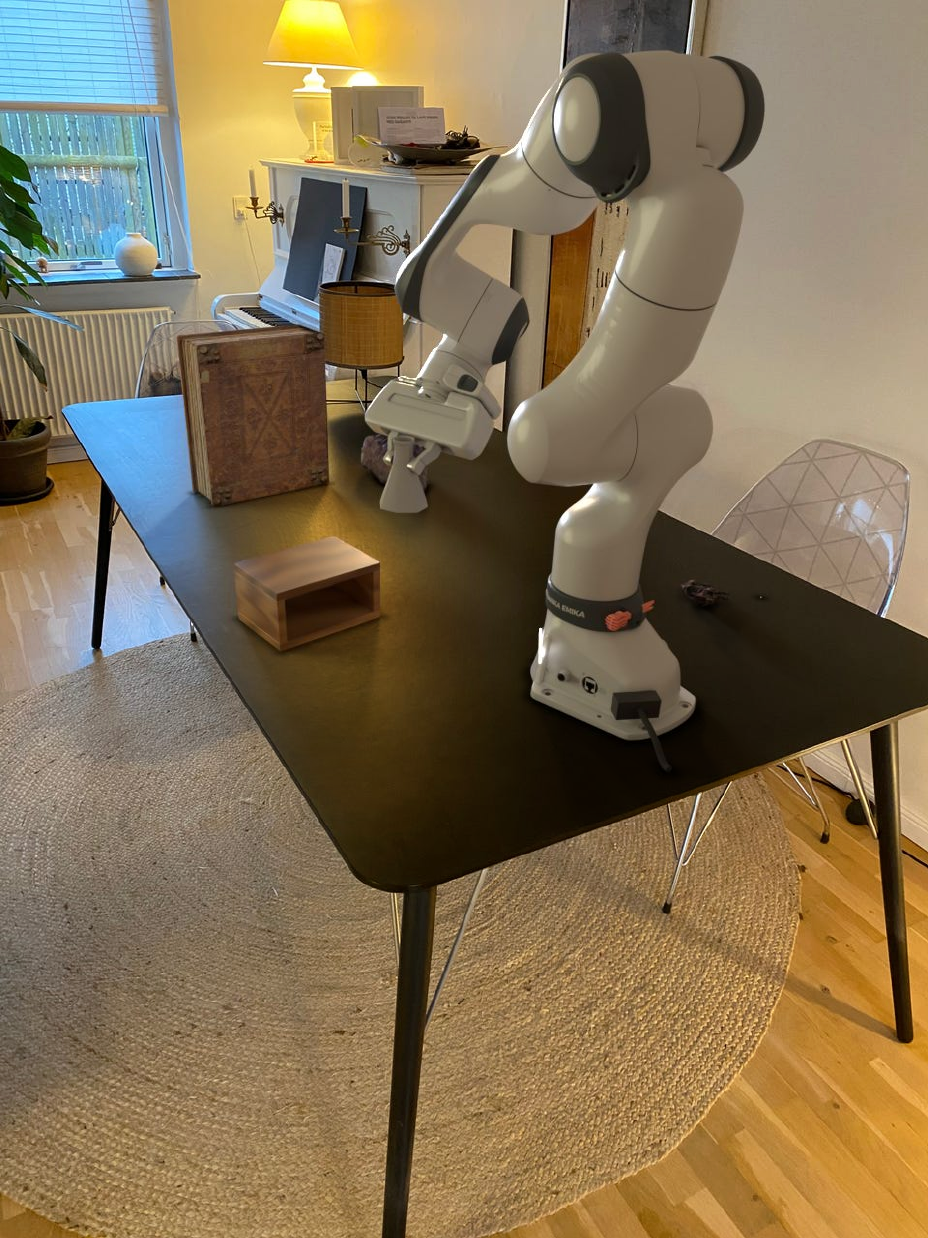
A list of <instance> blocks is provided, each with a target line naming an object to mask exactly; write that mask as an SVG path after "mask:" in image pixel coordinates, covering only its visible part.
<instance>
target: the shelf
mask: <svg viewBox="0 0 928 1238" xmlns="http://www.w3.org/2000/svg"><path fill="white" fill-rule="evenodd" d="M233 572H234V581H235V582H234V583H235V593H236V594H235V595H236V604H237V616H238V619H239V620H240V621H241V622H242V623H244V624H245V625H246V626H247V627H249V628H250V629H251V630H252V631H254V632H255V633H256V634H257V635H259V636H260V637H261V638H262V639H264V640H265V641H267V642H268V643H269V644H270V645H271V646H273V647H274V648H276V649H277V651H279V652H284V651H287V650H289V649H290V650H291V649H293V648H295V647H298V646H301V645H304V644H307V643H310V642H312V641H315V640H319V639H321V638H324V637H326V636H329V635H332V634H335V633H338V632H342V631H344V630H347V629H349V628H353V627H355V626H358V625H361V624H365V623H367V622H370V621H373V620H376V619H379V618H380V617H381V562H380V561H379V560H377V559H375V558H373V557H371V556H370V555H368V554H366V553H365V552H363V551H362V550H359V548H356V547H354V546H353V545H351V544H349V543H347V542H346V541H344V540H343V539H340V538H339V537H338V536H335V535H332V536H328V537H324V538H321V539H316V540H313V541H310V542H309V541H308V542H305V543H302V544H298V545H295V546H292V547H288V548H284V549H280V550H277V551H276V550H275V551H273V552H269V553H266V554H262V555H259V556H255V557H252V558H247V559H244V560H241V561H237V562H233Z"/></svg>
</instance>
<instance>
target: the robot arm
mask: <svg viewBox="0 0 928 1238" xmlns="http://www.w3.org/2000/svg"><path fill="white" fill-rule="evenodd" d="M765 103H766V102H765V95H764V91H763V88H762V84H761V82H760V80H759V77H758V76H757V75H756V73H755V72H754V71H753V70H752V69H751V68H749V67H748V66H747V65H745V64H743V63H742V62H739V61H738V60H735V59H732V58H729V57H725V56H721V55H711V56H702V55H698V54H689V53H681V52H680V53H677V52H675V51H673V50H668V49H667V50H666V49H665V50H661V49H660V50H645V51H643V50H642V51H636V52H627V53H619V52H615V51H614V52H613V51H610V52H605V53H604V52H603V53H599V52H589V53H584V54H580V55H579V56H577V57H575V58H573V59H572V60H571V61H570V62H568V63H567V65H565V66H564V67H563V70H562V71H561V72H560V73H559V75H558V76H557V77H556V79H555V80H554V82H553V83H552V84H551V86H550V87H549V89H548V91H547V92H546V93H545V95H544V97H543V98H542V99H541V101H540V103H539V104H538V106H537V108H536V110H535V111H534V114H533V115H532V117H531V118H530V121H529V123H528V125H527V127H526V129H525V130H524V133H523V135H522V138H521V139H520V141H519V142H518V144H516V146H515V147H514V148H512V149H511V150H509V151H507V152H506V153H503V154H488V155H486V156H485V157H484V158H482V160H480V161H479V163H478V164H477V165H476V166H475V167H473V170H472V171H471V172H470V174H469V175H468V177H467V178H466V180H464V182H463V183H462V184H461V185H460V186H459V188H458V189H457V191H456V192H455V193H454V195H453V196H452V198H451V200H450V201H448V204H447V206H445V209H443V211H442V213H441V214H440V215H439V217H438V218H437V219H436V222H435V223H434V224H433V226H432V227H431V228H430V230H429V233H428V234H427V235H426V237H425V238H424V240H423V241H422V242H421V243H420V244H419V245H418V246H417V247H415V248H414V250H412V251H411V252H410V254H409V255H408V256H407V257H406V259H405V260H404V261H403V263H402V264H401V266H400V268H399V271H398V273H397V274H396V279H395V285H394V287H393V289H394V293H395V296H396V300H397V303H398V305H399V307H400V310H401V312H402V313H403V314H405V315H407V316H409V317H412V318H413V319H415V320H418V321H419V322H421V323H425V324H427V325H429V326H430V327H432V328H433V329H435V330H436V331H439V332H440V333H442V334H443V335H442V338H441V341H440V343H439V344H438V345H437V346H436V347H434V348H433V350H432V351H431V353H430V354H429V356H428V358H427V359H426V361H425V362H424V364H423V366H422V368H421V370H420V371H419V373H418V375H417V376H416V378H409V377H407V376H403V375H402V376H399V377H397V378H394V379H391V380H390V381H389V382H388V383H387V384H386V385H385V386H384V387H383V388H382V389H381V390H380V391H379V393H378V394H377V395H376V397H375V398H374V399H373V401H372V402H371V404H370V405H369V407H368V408H367V409H366V410H365V413H364V422H365V423H366V424H367V426H368V427H369V428H370V429H371V430H372V431H373V432H375V433H376V434H382V435H386V436H388V450H387V452H386V454H385V456H384V457H383V461H384V462H385V463H386V464H387V465H389V466H392V465H393V459H394V453H395V445H394V444H393V438H394V437H396V436H410V437H414V439H415V443H414V444H417V445H418V446H424V451H423V452H422V453H421V454H420V455H419V456H418V457H416V458H415V457H412V458H411V459H410V462H409V463H408V465H407V469H408V470H409V471H411V472H412V473H415V474H417V475H420V474H421V472H422V471H423V469H424V467H425V465H427V466H428V465H429V464H431V463H432V462H433V461H435V460H437V459H438V458H439V456H440V454H441V453H443V454H447V455H451V456H455V457H458V458H461V459H465V460H469V461H473V460H476V459H477V458H478V457H480V456H481V455H482V453H483V452H484V451H485V450H484V449H485V448H486V447H487V444H488V442H489V440H490V439H491V436H492V434H493V432H494V428H495V422H494V420H497V419H498V418H499V417H500V416H501V414H502V411H503V409H502V407H501V405H500V403H499V401H498V400H497V398H496V397H495V396H494V394H493V393H492V391H491V390H490V388H488V386H487V385H486V384H485V383H486V379H487V375H488V374H489V371H490V369H491V368H492V367H493V366H496V365H499V364H502V363H505V362H507V361H509V360H510V359H511V357H512V355H513V353H514V349H515V347H516V345H517V344H518V343H519V341H520V339H521V338H522V337H523V335H524V334H525V332H526V331H527V329H528V327H529V325H530V322H531V320H530V313H529V307H528V305H527V302H526V300H525V297H523V296H522V295H521V294H520V293H519V292H518V291H516V290H514V289H513V288H512V287H511V286H509V285H507V284H505V283H504V282H502V281H501V280H499V279H497V278H496V277H493V276H491V275H490V274H488V273H486V272H485V271H483V270H482V269H480V268H478V266H475V265H474V264H472V263H470V262H469V261H467V260H466V259H465V258H463V257H462V256H461V255H460V254H459V253H458V252H457V251H456V250H457V248H458V247H459V245H460V244H461V243H462V242H463V240H464V239H465V237H466V236H467V235H468V233H469V232H470V231H471V229H472V228H473V227H475V226H478V225H493V226H499V227H506V228H509V229H513V230H517V231H519V232H520V231H521V232H522V233H526V234H529V235H535V236H556V235H560V234H565V233H567V232H570V231H573V230H575V229H577V228H578V227H580V226H582V225H583V224H584V223H585V222H586V221H587V220H588V219H589V217H590V216H591V215H592V214H593V212H594V211H595V210H596V208H597V207H598V206H599V204H600V202H604V203H605V204H615V203H618V202H620V201H623V200H625V201H626V205H627V209H628V226H627V229H626V233H625V237H624V240H623V243H622V246H621V248H620V252H619V255H618V257H617V260H616V263H615V265H614V266H615V267H614V270H613V272H612V276H611V279H610V282H609V284H608V288H607V291H606V294H605V297H604V300H603V303H602V305H601V308H600V311H599V314H598V315H597V319H596V321H595V324H594V327H593V328H592V331H591V333H590V334H589V336H588V338H587V339H586V341H585V343H584V345H583V346H582V347H581V349H580V350H579V351H578V353H577V354H576V355H575V356H574V358H573V359H572V360H571V361H570V363H569V364H568V365H567V366H566V367H565V368H564V369H563V371H562V372H561V373H560V374H559V375H558V376H557V377H556V378H554V379H553V380H552V381H551V382H549V384H548V385H546V386H545V387H544V388H542V389H541V390H539V392H537V393H535V394H534V395H532V396H530V397H528V398H527V399H525V400H523V401H522V402H521V403H520V404H519V405H518V407H517V408H516V409H515V411H514V413H513V414H512V417H511V419H510V422H509V425H508V429H507V436H506V438H507V439H506V440H507V441H506V442H507V451H508V454H509V457H510V460H511V462H512V464H513V466H514V468H515V469H516V471H517V472H518V473H519V474H520V476H521V477H522V478H523V479H525V481H527V482H528V483H532V484H536V485H537V484H538V485H547V486H555V487H565V488H566V487H567V488H568V487H569V488H570V487H577V486H578V487H579V486H585V485H586V486H587V485H592V486H591V487H590V488H589V490H588V491H587V492H586V494H585V495H584V496H583V497H582V498H581V499H579V500H578V501H577V502H576V503H574V504H572V506H570V507H569V508H567V510H565V511H564V513H563V514H562V515H561V517H560V518H559V520H558V522H557V525H556V528H555V533H554V546H553V555H552V566H551V567H552V568H551V573H550V574H549V576H548V578H547V584H546V589H545V606H546V609H547V610H546V615H545V621H544V625H543V627H542V628H541V627H540V628H539V632H538V649H537V652H536V655H535V657H534V660H533V661H532V664H531V666H530V676H531V680H532V685H531V688H530V693H529V694H530V697H531V698H532V699H533V700H535V701H537V702H540V703H542V704H544V705H546V706H548V707H551V708H552V709H555V710H557V711H560V712H562V713H564V714H566V715H569V716H571V717H573V718H576V719H577V720H580V721H582V722H585V723H586V724H588V725H591V726H593V727H595V728H597V729H600V730H602V731H605V732H607V733H608V734H612V735H614V736H616V737H617V738H620V739H623V740H626V741H641V740H647V739H650V740H651V742H652V745H653V748H654V751H655V754H656V757H657V760H658V762H659V764H660V766H661V768H662V769H663V770H664V771H665V772H666V773H670V772H671V771H672V769H673V767H672V766H671V764H669V762H668V761H667V759H666V756H665V754H664V750H663V747H662V745H661V741H660V740H659V737H658V736H661V735H663V734H667V733H668V732H670V731H672V730H674V729H675V728H677V727H679V726H680V725H682V724H683V723H684V722H686V721H687V720H689V718H690V717H691V716H692V715H693V714H694V712H695V709H696V704H697V698H696V696H695V695H693V693H691V692H690V691H689V690H687V689H686V688H684V687H683V686H682V685H681V678H682V677H681V667H680V662H679V660H678V658H677V656H676V655H674V654H675V653H673V652H672V651H671V649H670V648H669V645H668V643H667V642H666V641H665V640H664V639H662V637H661V635H659V633H658V632H657V631H656V630H655V628H654V627H653V625H652V624H651V623H650V622H649V620H648V619H647V612H648V611H651V610H653V609H654V606H653V605H654V603H655V600H653V599H652V600H649V601H647V602H645V601H644V597H643V591H642V588H641V584H640V582H639V580H640V577H641V576H640V574H641V570H642V569H641V568H642V564H643V557H644V554H645V553H644V552H645V547H646V543H647V538H648V536H649V535H648V534H649V532H650V530H651V529H650V528H651V526H652V523H653V521H654V519H655V517H656V515H657V513H658V511H659V509H660V508H661V506H662V504H663V502H664V501H665V499H666V498H667V496H668V495H669V493H671V490H673V488H674V487H675V485H676V484H677V483H678V481H679V480H680V479H681V478H683V476H684V475H686V473H688V471H690V470H691V469H692V468H694V467H695V466H696V465H697V464H699V463H700V462H701V461H702V460H703V459H704V458H705V456H706V455H707V453H708V451H709V448H710V447H711V443H712V440H713V435H714V434H713V433H714V420H713V415H712V412H711V410H710V406H709V405H708V402H707V401H706V399H705V398H704V397H703V395H702V394H701V393H699V392H698V391H697V390H695V389H693V388H689V387H685V386H680V385H675V384H670V383H672V382H673V381H675V380H676V379H678V378H679V377H680V376H682V375H683V374H684V373H685V372H686V371H687V370H688V368H689V367H690V366H691V365H692V363H693V361H694V359H695V358H696V355H697V353H698V350H699V348H700V346H701V343H702V341H703V339H704V336H705V334H706V331H707V329H708V326H709V324H710V322H711V319H712V316H713V314H714V313H715V310H716V307H717V304H718V303H719V300H720V297H721V294H722V292H723V289H724V287H725V285H726V282H727V278H728V276H729V272H730V269H731V267H732V263H733V259H734V256H735V253H736V250H737V246H738V242H739V236H740V233H741V229H742V223H743V218H744V209H745V204H744V197H743V195H742V192H741V190H740V188H739V187H738V185H737V183H735V181H734V180H733V179H732V178H731V177H729V176H728V175H727V174H726V173H725V172H728V171H730V170H732V169H734V168H735V167H737V166H739V165H740V164H741V163H743V162H744V161H745V160H746V159H747V158H748V157H749V155H751V153H752V152H753V150H754V148H755V146H756V145H757V142H758V141H759V138H760V135H761V133H762V130H763V126H764V125H763V124H764V121H765V112H766V111H765V110H766V107H765V105H766V104H765Z"/></svg>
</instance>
